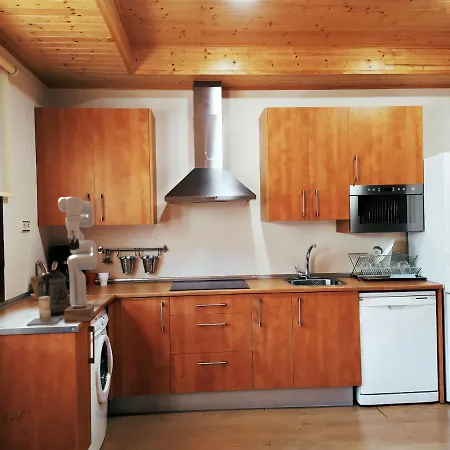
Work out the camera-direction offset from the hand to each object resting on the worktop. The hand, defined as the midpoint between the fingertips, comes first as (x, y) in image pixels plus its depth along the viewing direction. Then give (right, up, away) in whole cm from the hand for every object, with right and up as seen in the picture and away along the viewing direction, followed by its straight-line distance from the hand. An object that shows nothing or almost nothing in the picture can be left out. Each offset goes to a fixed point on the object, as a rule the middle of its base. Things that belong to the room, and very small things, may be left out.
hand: (74, 249), depth 248 cm
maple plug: (-9, -36, -17) cm, 41 cm away
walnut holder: (+7, -36, -13) cm, 39 cm away
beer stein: (-11, -37, +1) cm, 39 cm away
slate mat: (-9, -37, -18) cm, 42 cm away
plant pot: (-40, -37, +55) cm, 78 cm away
